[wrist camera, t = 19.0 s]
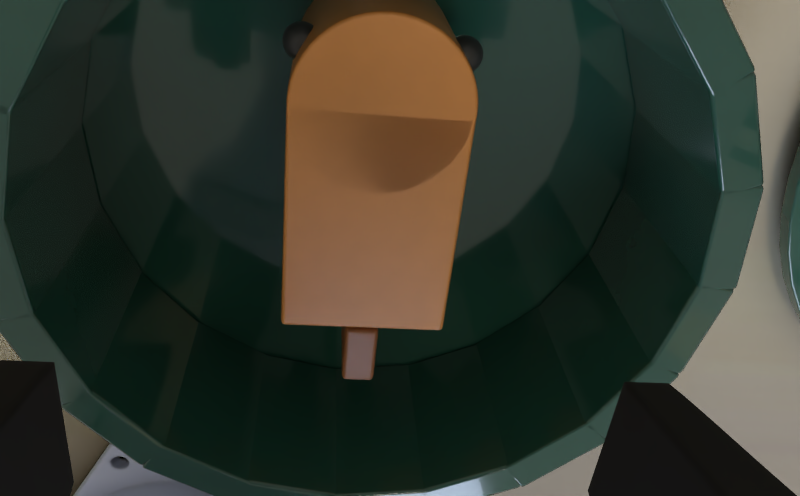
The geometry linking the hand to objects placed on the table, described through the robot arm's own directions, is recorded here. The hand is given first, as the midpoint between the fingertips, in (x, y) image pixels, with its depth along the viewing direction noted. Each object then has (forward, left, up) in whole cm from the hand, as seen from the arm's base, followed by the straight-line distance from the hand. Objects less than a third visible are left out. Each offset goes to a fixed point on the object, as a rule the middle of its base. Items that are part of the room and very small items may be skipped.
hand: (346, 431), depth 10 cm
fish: (0, 0, -9) cm, 9 cm away
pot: (0, 0, -9) cm, 9 cm away
